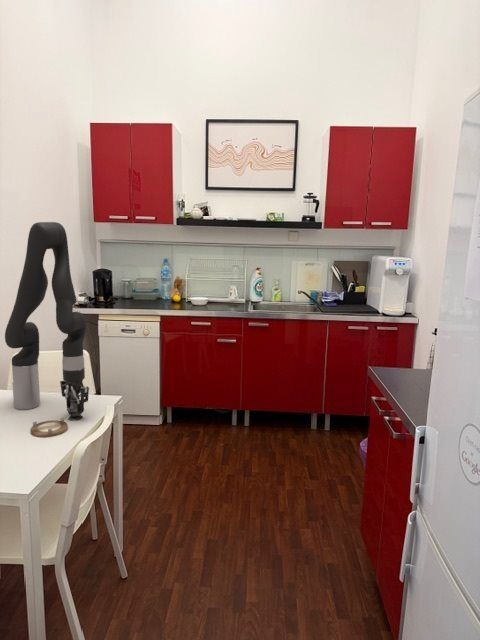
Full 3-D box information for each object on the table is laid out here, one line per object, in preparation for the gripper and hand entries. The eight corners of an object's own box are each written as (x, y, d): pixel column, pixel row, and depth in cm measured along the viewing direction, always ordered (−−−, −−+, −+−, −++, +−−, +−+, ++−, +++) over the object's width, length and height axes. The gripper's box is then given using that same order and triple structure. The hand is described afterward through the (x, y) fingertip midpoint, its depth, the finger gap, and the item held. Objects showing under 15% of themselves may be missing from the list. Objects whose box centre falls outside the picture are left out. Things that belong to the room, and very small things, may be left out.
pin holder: (23, 431, 156) (23, 424, 156) (54, 420, 166) (54, 413, 165) (43, 440, 149) (43, 433, 149) (75, 428, 159) (74, 422, 159)
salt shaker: (78, 421, 165) (77, 390, 163) (63, 420, 166) (62, 388, 164) (86, 415, 171) (85, 385, 169) (72, 414, 172) (71, 384, 170)
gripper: (52, 365, 166) (54, 409, 169) (77, 372, 158) (78, 418, 161) (70, 361, 172) (72, 403, 175) (94, 368, 164) (96, 412, 167)
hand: (75, 410), depth 168 cm, fingers closed on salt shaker, 6 cm apart
